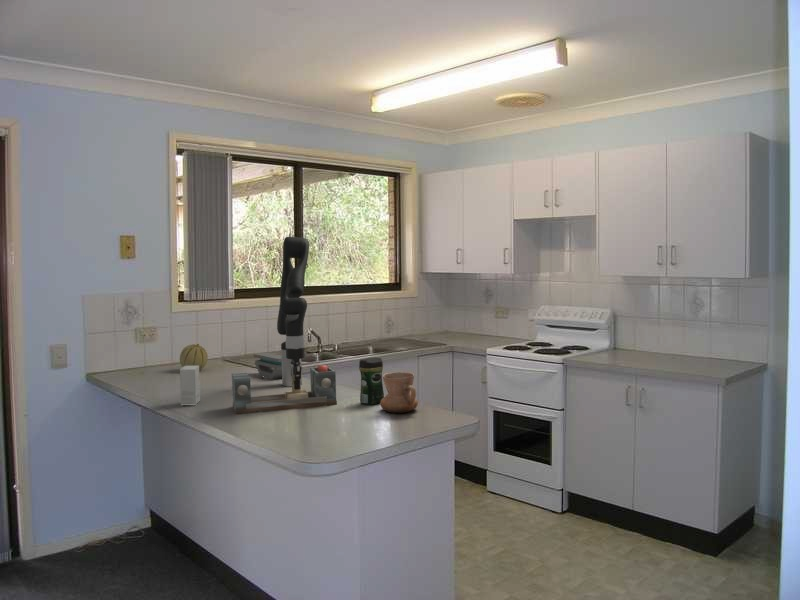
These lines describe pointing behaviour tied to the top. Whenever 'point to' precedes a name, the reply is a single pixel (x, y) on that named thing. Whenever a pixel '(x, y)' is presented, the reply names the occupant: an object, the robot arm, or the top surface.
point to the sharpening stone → (269, 365)
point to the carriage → (295, 392)
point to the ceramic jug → (399, 392)
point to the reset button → (322, 368)
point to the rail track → (318, 396)
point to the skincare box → (189, 385)
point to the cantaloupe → (193, 356)
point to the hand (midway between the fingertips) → (296, 388)
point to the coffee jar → (371, 380)
